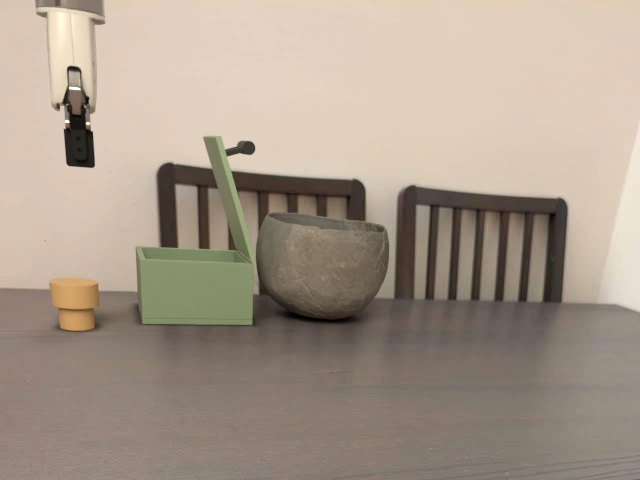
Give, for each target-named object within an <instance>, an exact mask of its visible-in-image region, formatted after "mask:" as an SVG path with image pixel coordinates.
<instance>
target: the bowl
mask: <svg viewBox="0 0 640 480" xmlns="http://www.w3.org/2000/svg"><path fill="white" fill-rule="evenodd" d="M261 223H262V224H261V226H260V229H259V231H258V234H257V238H256V244H255V256H256V260H255V265H256V271H257V277H258V280H259V282H260V285H261V287H262V288H263V290H264V291H265V292H266V293H267V295H268V296H269V297H270V299H272V300H273V302H275V303H276V304H277V305H278V306H280V307H281V308H283V309H284V310H286V311H289V312H290V313H293V314H296V315H299V316H302V317H307V318H313V319H321V320H340V319H346V318H349V317H351V316H354V315H356V314H358V313H360V312H361V311H362V310H364V309H366V307H368V306H369V305H370V304H371V303H372V302H373V300H374V299H375V297H376V296H377V295H378V293H379V291H380V289H381V287H382V286H383V284H384V282H385V279H386V276H387V273H388V269H389V261H390V239H389V234H388V230H387V228H386V226H384V225H383V224H380V223H375V222H370V221H365V220H357V219H356V220H354V219H346V218H344V219H340V218H334V217H328V216H321V215H315V214H310V213H309V214H308V213H300V212H288V211H280V212H278V211H274V212H269V213H267V214H266V215H265V217H264V219H263V220H262V222H261Z"/></svg>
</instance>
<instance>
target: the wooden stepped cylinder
mask: <svg viewBox="0 0 640 480" xmlns="http://www.w3.org/2000/svg"><path fill="white" fill-rule="evenodd" d="M48 285H49V295H50V296H49V297H50V305H51V306H52V307H55V308H57V309H58V310H57V311H58V312H57V313H58V322H59V328H60V329H62V330H65V331H73V332H83V331H90V330H94V329H95V328H96V324H95V310H94V309H95V308H98V307H100V304H101V303H100V290H99V282H98V281H97V280H95V279H92V278H83V277H58V278H52V279H50V280H49V281H48Z"/></svg>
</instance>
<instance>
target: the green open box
mask: <svg viewBox="0 0 640 480" xmlns="http://www.w3.org/2000/svg"><path fill="white" fill-rule="evenodd" d="M135 265H136V286H137V305H138V311H139V314H140V319H141V323H142V325H187V326H188V325H189V326H190V325H191V326H192V325H194V326H195V325H196V326H198V325H199V326H200V325H201V326H202V325H203V326H205V325H206V326H253V323H254V322H253V321H254V320H253V318H254V316H253V315H254V314H253V313H254V269H255V268H254V266H255V265H254V263H253V261H251V260H249V259H248V258H247V257H246V256H245V255H243V254H242V253H241V252H240V251H239V250H237V249H236V250H234V249H213V248H212V249H211V248H210V249H209V248H190V247H189V248H187V247H186V248H185V247H163V246H161V247H160V246H142V245H141V246H140V245H138V246H137V245H136V246H135Z"/></svg>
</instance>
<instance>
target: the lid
mask: <svg viewBox="0 0 640 480" xmlns="http://www.w3.org/2000/svg"><path fill="white" fill-rule="evenodd" d="M202 139H203V143H204V145H205V149H206V153H207V156H208V159H209V163H210V166H211V171H212V172H213V176H214V179H215V184H216V187H217V190H218V193H219V197H220V199H221V203H222V207H223V210H224V213H225V216H226V220H227V223H228V226H229V230H230V234H231V237H232V241H233V243H234V247H235V249H236V250H237V251H239V252H240V253H241V254H243V255H244V256H245V257H246V258H247V259H248V260H250V261H251V262H254V261H256V252H255V250H254V245H253V243H252V239H251V236H250V232H249V229H248V224H247V222H246V218H245V215H244V211H243V208H242V207H243V206H242V204H241V201H240V197H239V193H238V190H237V186H236V183H235V180H234V176H233V172H232V169H231V166H230V162H229V159H228V157H231V156H235V155H240V154H241V155H247V156H252V155H253V154H255V152H256V145H255V143H254V142H253V141H251V140H239V141H238V142H237V144H236V146H232V147H228V148H225V145H224V142H223V141H224V140H223V138H222V135H204V136H202Z"/></svg>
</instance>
